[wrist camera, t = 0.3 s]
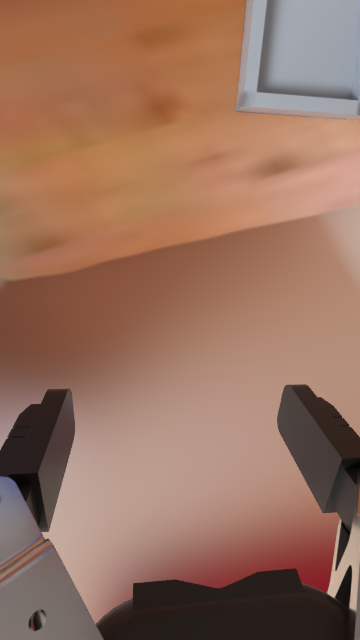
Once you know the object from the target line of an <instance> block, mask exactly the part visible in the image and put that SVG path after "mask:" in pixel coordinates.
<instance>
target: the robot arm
mask: <svg viewBox="0 0 360 640" xmlns="http://www.w3.org/2000/svg"><path fill="white" fill-rule="evenodd" d="M277 423H278V429H279V432H280V434H281V436H282V438H283V440H284V442H285V443H286V445H287V447H288V449H289V451H290V453H291V455H292V456H293V458H294V460H295V462H296V464H297V466H298V467H299V469H300V471H301V473H302V475H303V477H304V478H305V481H306V482H307V484H308V486H309V488H310V490H311V491H312V493H313V495H314V497H315V499H316V501H317V503H318V505H319V506H320V508H321V510H322V512H323V513H332V512H337V513H338V515H339V516H340V518H341V519H340V522H339V525H338V530H337V537H336V544H335V552H334V559H333V566H332V574H331V580H330V584H329V589H328V592H327V593H325V592H323V591H321V590H319V589H317V588H314V587H311V586H309V585H306V584H302V583H301V580H300V578H299V575H298V572H297V570H296V569H284V570H274V571H263V572H257V573H254V574H252V575H250V576H248V577H245V578H243V579H241V580H239V581H237V582H234V583H232V584H230V585H228V586H226V587H223V588H212V587H207V586H203V585H198V584H193V583H189V582H184V581H179V580H166V581H155V582H144V583H134V584H133V598H132V599H130V600H128V601H125V602H123V603H122V604H120V605H118V606H117V607H115V608H114V609H112V610H111V611H110V612H109V613H107V614H106V615H105V616H103V618H101V619H100V620H99V622H97V623H96V624H95V622H94V621H93V619H92V617H91V615H90V613H89V611H88V609H87V607H86V605H85V604H84V602H83V600H82V598H81V596H80V594H79V592H78V591H77V589H76V587H75V585H74V583H73V581H72V579H71V577H70V575H69V574H68V572H67V570H66V568H65V566H64V564H63V562H62V560H61V558H60V557H59V555H58V553H57V551H56V549H55V547H54V545H53V544H52V542H51V541H50V540H49V539H46V540H45V538H44V537H43V535H42V533H41V532H48V531H49V528H50V525H51V521H52V518H53V514H54V510H55V506H56V503H57V499H58V495H59V491H60V488H61V484H62V481H63V477H64V473H65V469H66V466H67V462H68V459H69V455H70V451H71V448H72V443H73V440H74V434H75V420H74V411H73V401H72V392H71V390H70V389H48V390H47V392H46V394H45V396H44V398H43V400H42V403H41V404H31V405H30V406H29V407H27V408H26V409H25V410H24V411H23V412H22V413H21V414H20V415H19V416H18V418H17V420H16V422H15V424H14V426H13V429H11V431H10V433H9V435H8V439H6V441H5V443H4V444H3V446H2V448H1V450H0V640H360V437H359V436H358V435H357V434H356V432H355V431H354V430H353V429H352V428H351V427H349V424H348V423H347V422H346V421H345V420H344V418H342V416H341V415H340V414H339V412H338V411H337V410H336V409H335V407H334V406H332V405H331V404H330V403H328V402H327V401H325V400H324V399H322V398H321V397H317V396H316V395H315V394H314V393H313V391H312V390H311V389H310V388H309V386H307V385H286V386H285V387H284V390H283V394H282V399H281V403H280V408H279V412H278V417H277Z"/></svg>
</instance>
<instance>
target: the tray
mask: <svg viewBox="0 0 360 640" xmlns="http://www.w3.org/2000/svg"><path fill="white" fill-rule="evenodd" d="M236 112H249V113H263V114H276V115H290V116H303V117H317V118H331V119H344V120H354V119H358V118H360V0H247V2H246V12H245V22H244V33H243V43H242V54H241V64H240V75H239V85H238V96H237V106H236Z"/></svg>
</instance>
